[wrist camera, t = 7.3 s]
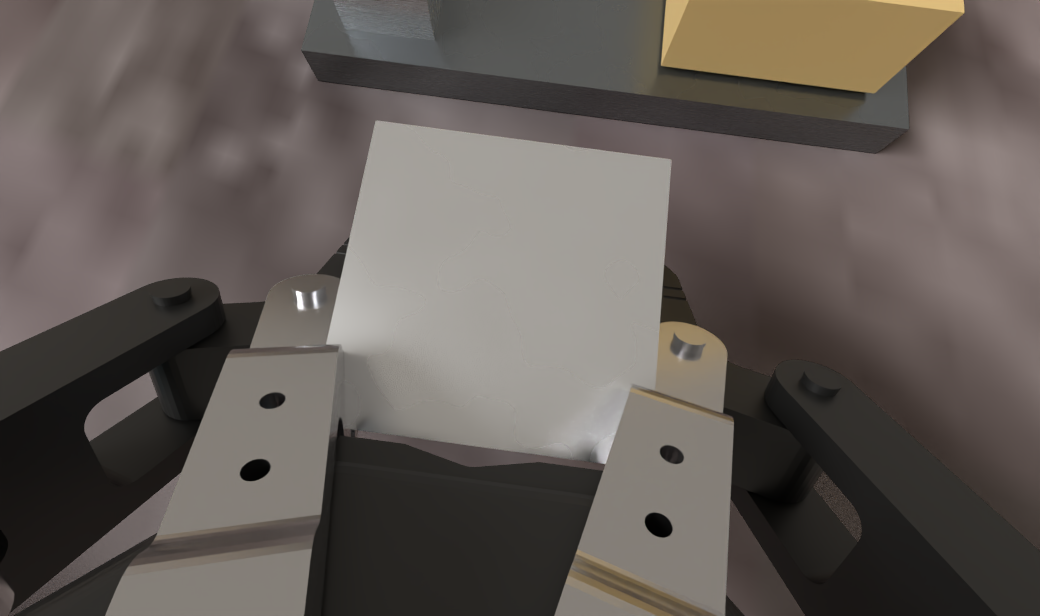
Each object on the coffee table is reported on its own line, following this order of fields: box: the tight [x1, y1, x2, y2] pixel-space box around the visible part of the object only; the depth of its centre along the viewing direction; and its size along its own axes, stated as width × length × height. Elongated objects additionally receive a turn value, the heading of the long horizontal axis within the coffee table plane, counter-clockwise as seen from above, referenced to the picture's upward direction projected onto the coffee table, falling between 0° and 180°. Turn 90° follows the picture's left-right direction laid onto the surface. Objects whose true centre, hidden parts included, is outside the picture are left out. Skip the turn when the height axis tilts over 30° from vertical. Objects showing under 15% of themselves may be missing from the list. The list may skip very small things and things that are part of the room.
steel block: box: [326, 121, 671, 464], centre depth 11 cm, size 4×4×9 cm
